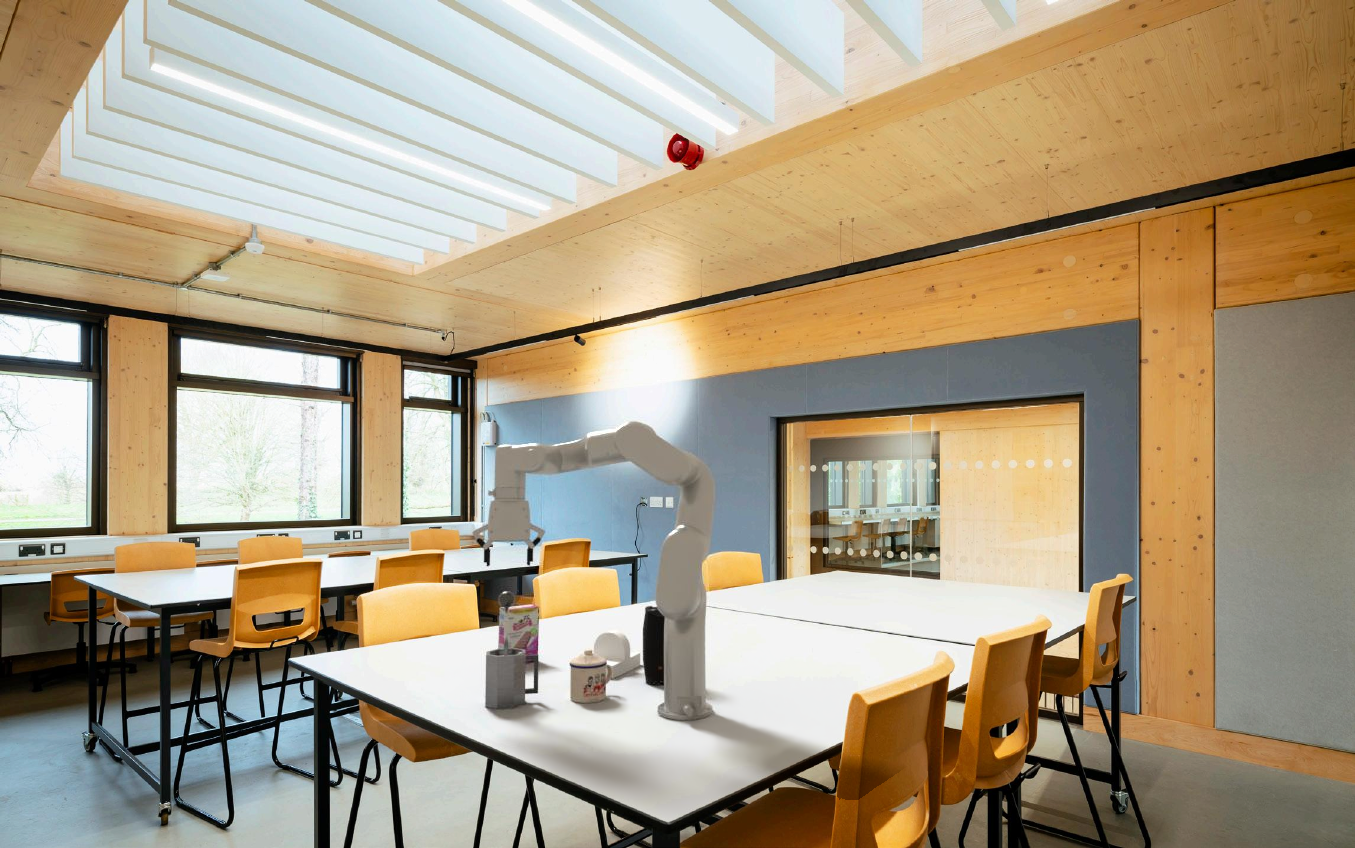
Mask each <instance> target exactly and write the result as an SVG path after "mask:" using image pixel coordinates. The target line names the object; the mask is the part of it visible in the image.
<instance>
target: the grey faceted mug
mask: <svg viewBox="0 0 1355 848" xmlns="http://www.w3.org/2000/svg"><path fill="white" fill-rule="evenodd" d="M499 655H504V648H503V649H498V648H496V649H491V650H488V651H487V650H486V652H485V691H484V692H485V694H484V697H485V701H484V702H485V704H484V705H485V708H487V707H488V709H492V708H493V710H507V709H508V708H510V709H515V708H518V706H519V707H521V705H522V706H525V705H526V695H530V694H531V695H532V694H539V653H538V654H534V655H526V652H525V649H518V648H508V656H499ZM526 660H534V662H533V687H532V688H529V687H528V688H526Z"/></svg>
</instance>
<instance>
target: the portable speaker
mask: <svg viewBox="0 0 1355 848" xmlns="http://www.w3.org/2000/svg"><path fill="white" fill-rule="evenodd" d="M644 612H645V613H644V618H643V626H642V664H643V671H644V677H645V684H647V685H649V686H654V685H655V683H664V622H665V616H663V615H662V614H661V613H660V611H659V610H658V608H657V606H653V605H648V606H645V608H644Z"/></svg>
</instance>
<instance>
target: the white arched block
mask: <svg viewBox="0 0 1355 848" xmlns="http://www.w3.org/2000/svg"><path fill="white" fill-rule="evenodd" d="M593 654H596V655H597V656H599V657H602V658H604V659H606V662H607V664H608V665H610V666H611V668H612V676H611V678H612V679H611V680H614V679H615V678H614V677H616V676H618V677H620V676H621V675H620V674H622V675H623V673H624V674H625V673H627V672H629V671H631V670H634V669H635V668H637V667H639V666H641V652H640V651H639V652H638V651H632V652H631V645H630V640H629V639H628V637H627V636H626V635H625V634H624V633H623V632H621V631H620V630H616V629H614V630H612V629H611V630H609V631H606V632H603V633H601V634H600V635H598V637H597V638H596V639H595V641H594V644H593ZM634 667H635V668H634ZM630 669H631V670H630ZM628 670H629V671H628ZM607 674H608V669H607V667H606V677H607ZM619 675H620V676H619ZM613 678H614V679H613ZM616 678H617V677H616Z"/></svg>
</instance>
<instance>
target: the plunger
mask: <svg viewBox="0 0 1355 848" xmlns="http://www.w3.org/2000/svg"><path fill="white" fill-rule="evenodd" d="M497 600H498V601H497V602H498V604H499V606H500V608H502V607H503V608H504V655H499V656H508V619H509V607H512V606H514V604H515V602H516V597H515V595H514V593H513V591H512V592H511V591H509V590H506V591H502V592H501V593H500V594H499V595H498V598H497Z"/></svg>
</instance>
